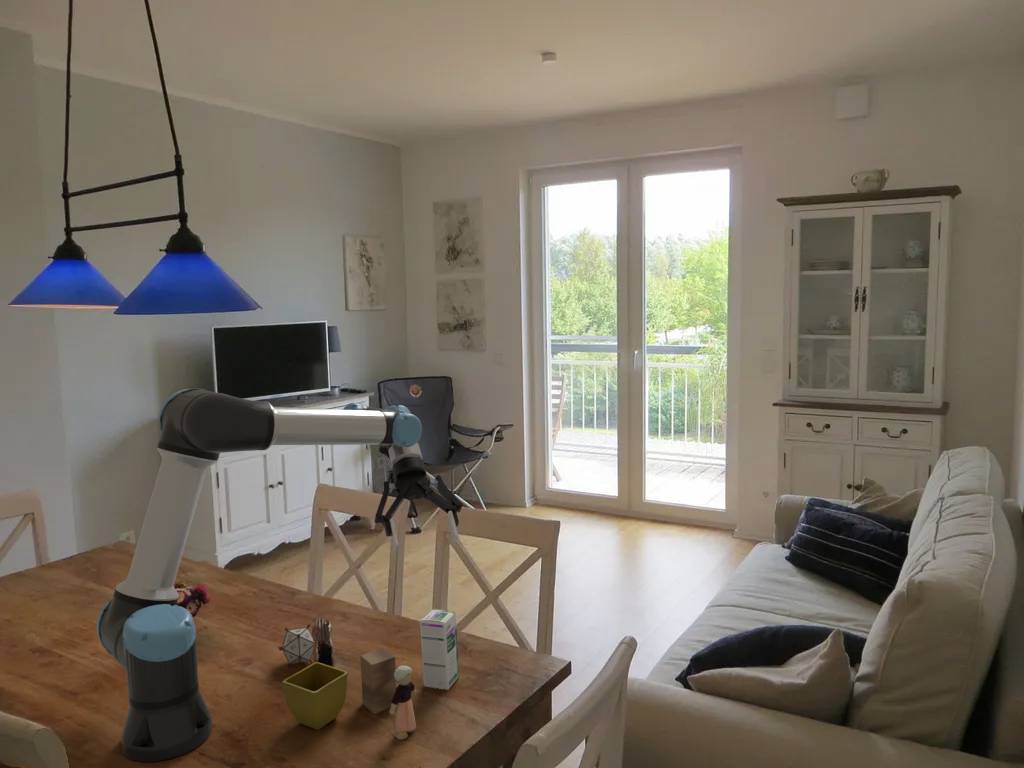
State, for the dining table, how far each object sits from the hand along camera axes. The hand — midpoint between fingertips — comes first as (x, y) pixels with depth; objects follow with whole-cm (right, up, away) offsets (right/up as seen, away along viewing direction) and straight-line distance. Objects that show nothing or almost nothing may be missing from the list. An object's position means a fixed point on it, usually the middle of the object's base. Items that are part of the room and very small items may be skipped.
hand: (426, 543), depth 170 cm
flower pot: (-18, -29, -25) cm, 42 cm away
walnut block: (-7, -28, -19) cm, 34 cm away
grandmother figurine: (-1, -29, -29) cm, 41 cm away
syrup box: (+4, -27, -11) cm, 29 cm away
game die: (-28, -26, -1) cm, 38 cm away
